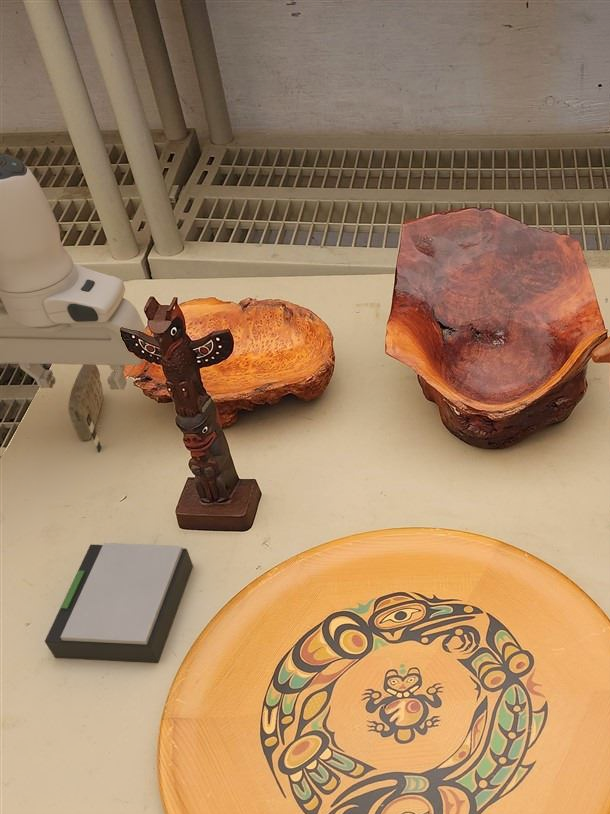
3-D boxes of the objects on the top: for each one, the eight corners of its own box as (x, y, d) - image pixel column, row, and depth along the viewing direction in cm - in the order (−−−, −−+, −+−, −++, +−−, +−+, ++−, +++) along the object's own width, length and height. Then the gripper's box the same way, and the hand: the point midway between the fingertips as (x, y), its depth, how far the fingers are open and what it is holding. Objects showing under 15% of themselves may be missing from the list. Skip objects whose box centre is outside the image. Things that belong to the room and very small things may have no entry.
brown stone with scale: (87, 418, 107) (106, 359, 115) (55, 419, 107) (77, 360, 115) (99, 453, 111) (117, 393, 119) (69, 453, 111) (89, 394, 119)
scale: (54, 657, 90) (41, 638, 87) (98, 561, 98) (88, 540, 96) (158, 663, 89) (148, 643, 86) (193, 565, 98) (185, 544, 95)
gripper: (-56, 307, 99) (-5, 400, 109) (117, 310, 98) (152, 403, 108) (-31, 277, 103) (15, 369, 114) (135, 279, 102) (167, 372, 112)
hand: (83, 386), depth 111 cm, fingers open, 8 cm apart
